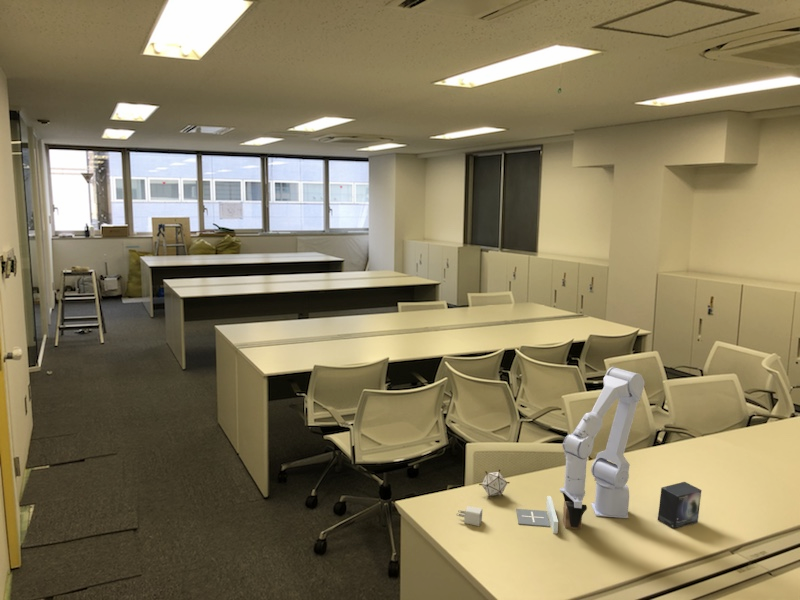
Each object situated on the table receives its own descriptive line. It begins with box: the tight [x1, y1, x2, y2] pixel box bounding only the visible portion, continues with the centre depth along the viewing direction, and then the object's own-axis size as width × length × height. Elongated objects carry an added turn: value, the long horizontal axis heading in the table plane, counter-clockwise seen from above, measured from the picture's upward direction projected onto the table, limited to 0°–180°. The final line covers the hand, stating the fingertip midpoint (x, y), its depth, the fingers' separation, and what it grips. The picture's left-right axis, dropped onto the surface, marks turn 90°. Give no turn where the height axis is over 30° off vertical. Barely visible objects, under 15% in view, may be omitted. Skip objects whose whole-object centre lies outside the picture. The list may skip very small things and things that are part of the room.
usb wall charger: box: [456, 505, 483, 527], centre depth 180 cm, size 4×7×4 cm, turn 70°
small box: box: [657, 481, 703, 530], centre depth 183 cm, size 11×6×10 cm, turn 117°
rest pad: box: [515, 508, 551, 528], centre depth 184 cm, size 9×9×1 cm
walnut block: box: [562, 500, 583, 530], centre depth 180 cm, size 4×4×6 cm
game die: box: [478, 468, 511, 499], centre depth 197 cm, size 9×8×10 cm
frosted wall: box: [545, 495, 559, 535], centre depth 183 cm, size 1×16×4 cm, turn 173°
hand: (572, 519), depth 180 cm, fingers open, 7 cm apart
